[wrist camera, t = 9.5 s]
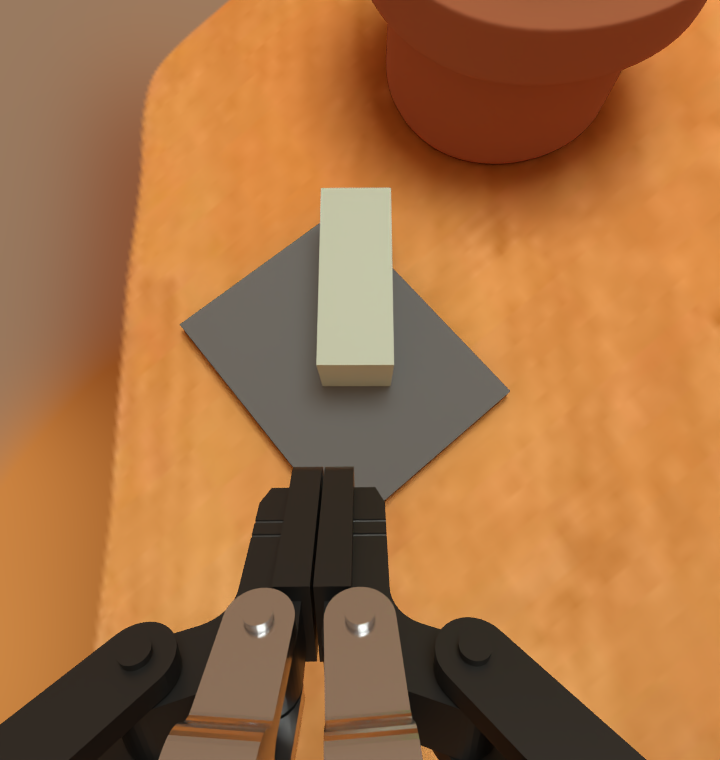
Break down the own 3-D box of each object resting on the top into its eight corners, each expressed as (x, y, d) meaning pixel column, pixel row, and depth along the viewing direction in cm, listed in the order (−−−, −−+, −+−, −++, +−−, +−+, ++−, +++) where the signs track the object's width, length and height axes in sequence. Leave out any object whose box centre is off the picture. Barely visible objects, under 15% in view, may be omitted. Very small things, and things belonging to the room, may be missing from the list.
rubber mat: (506, 395, 35) (510, 391, 34) (346, 533, 33) (345, 533, 32) (337, 218, 39) (337, 210, 38) (184, 329, 37) (179, 324, 36)
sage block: (394, 364, 30) (390, 187, 34) (316, 364, 30) (321, 188, 34) (390, 386, 34) (388, 227, 38) (322, 386, 34) (326, 227, 38)
